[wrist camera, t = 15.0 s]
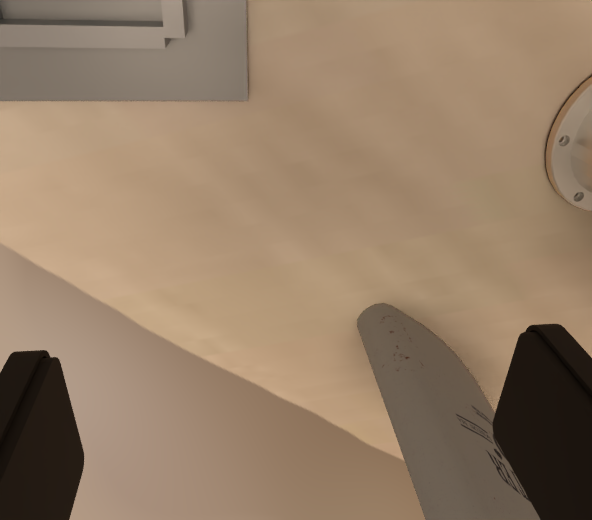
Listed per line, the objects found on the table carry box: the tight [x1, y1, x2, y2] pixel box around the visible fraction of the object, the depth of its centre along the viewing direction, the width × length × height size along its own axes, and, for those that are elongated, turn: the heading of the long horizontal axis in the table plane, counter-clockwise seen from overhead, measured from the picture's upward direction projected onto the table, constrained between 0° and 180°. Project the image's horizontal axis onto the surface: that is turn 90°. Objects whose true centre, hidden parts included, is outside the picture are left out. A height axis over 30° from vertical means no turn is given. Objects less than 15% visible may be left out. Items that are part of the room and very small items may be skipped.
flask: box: [357, 303, 540, 520], centre depth 41 cm, size 17×5×25 cm, turn 44°
